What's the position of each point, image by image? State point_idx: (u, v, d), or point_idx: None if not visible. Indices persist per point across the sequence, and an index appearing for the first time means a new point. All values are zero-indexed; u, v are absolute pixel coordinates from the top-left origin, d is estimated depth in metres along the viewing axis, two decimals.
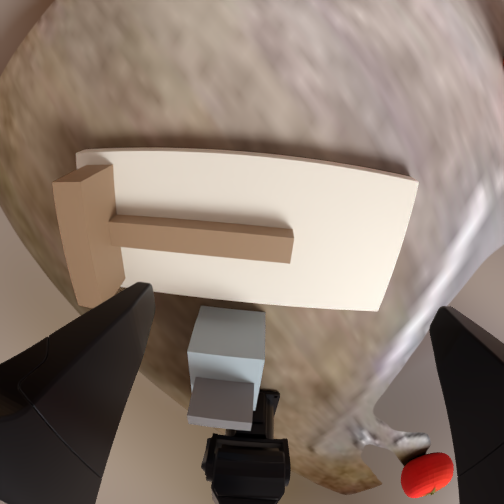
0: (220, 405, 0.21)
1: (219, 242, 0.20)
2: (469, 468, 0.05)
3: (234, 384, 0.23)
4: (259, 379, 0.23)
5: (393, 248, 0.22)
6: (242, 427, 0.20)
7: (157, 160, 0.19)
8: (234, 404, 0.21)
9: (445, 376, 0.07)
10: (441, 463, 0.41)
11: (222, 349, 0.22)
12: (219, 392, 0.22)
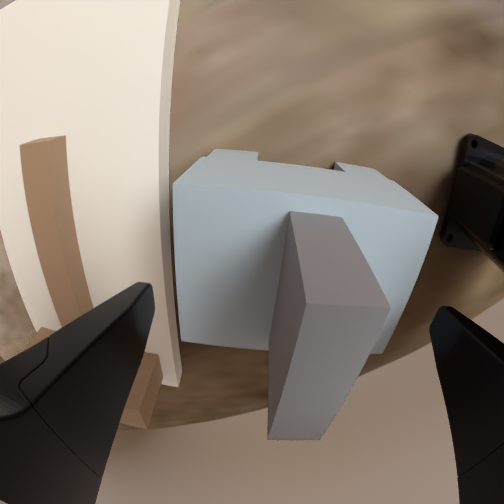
0: (280, 349, 0.07)
1: (45, 241, 0.12)
2: (469, 468, 0.05)
3: (282, 268, 0.09)
4: (269, 195, 0.08)
5: None
6: (352, 335, 0.05)
7: (23, 287, 0.16)
8: (286, 309, 0.07)
9: (445, 376, 0.07)
10: None
11: None
12: (278, 321, 0.08)
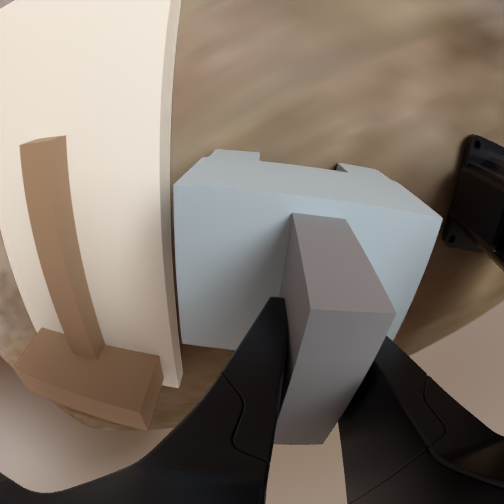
0: None
1: (45, 241, 0.12)
2: (356, 498, 0.05)
3: (284, 271, 0.08)
4: (271, 197, 0.08)
5: None
6: (356, 341, 0.05)
7: (23, 288, 0.16)
8: (289, 313, 0.07)
9: None
10: None
11: None
12: None
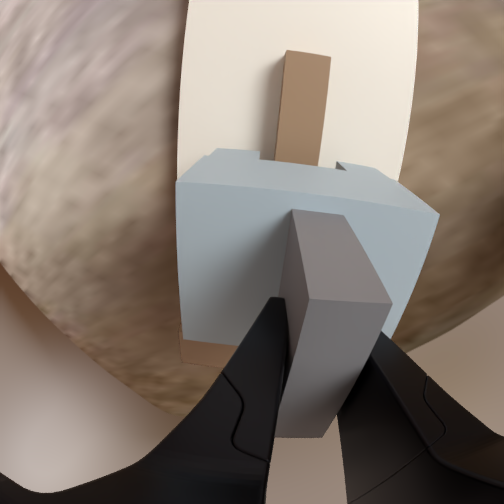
0: None
1: (294, 157, 0.13)
2: (356, 498, 0.05)
3: (284, 266, 0.09)
4: (271, 193, 0.08)
5: None
6: (354, 331, 0.05)
7: None
8: (289, 306, 0.07)
9: None
10: None
11: None
12: None
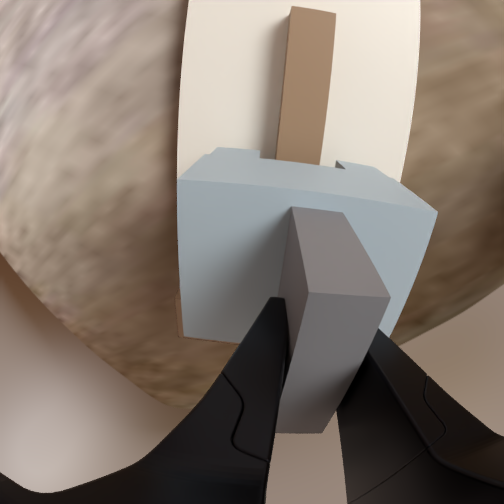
0: None
1: (301, 109, 0.12)
2: (356, 498, 0.05)
3: (284, 262, 0.09)
4: (271, 191, 0.08)
5: None
6: (353, 325, 0.05)
7: None
8: (289, 301, 0.07)
9: None
10: None
11: None
12: None
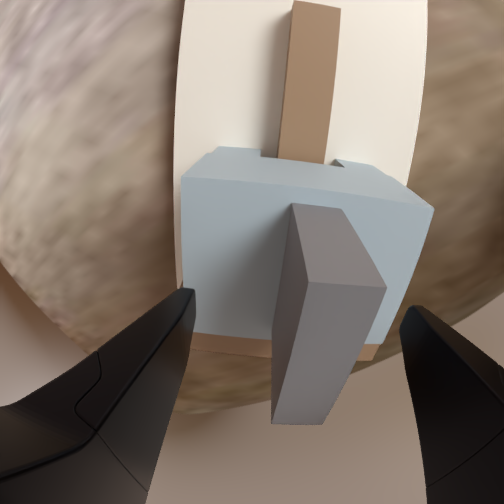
0: (283, 333, 0.07)
1: (304, 109, 0.11)
2: (438, 479, 0.05)
3: (285, 258, 0.09)
4: (272, 188, 0.08)
5: None
6: (351, 314, 0.05)
7: None
8: (289, 294, 0.07)
9: (413, 380, 0.07)
10: None
11: None
12: (281, 308, 0.09)
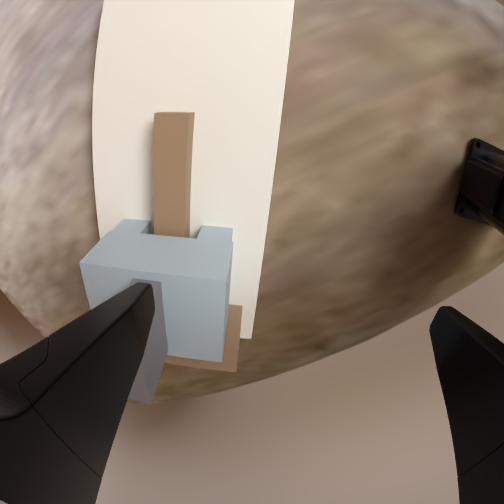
0: None
1: (166, 198, 0.17)
2: (469, 468, 0.05)
3: None
4: (121, 270, 0.14)
5: None
6: None
7: None
8: None
9: (445, 376, 0.07)
10: None
11: None
12: None
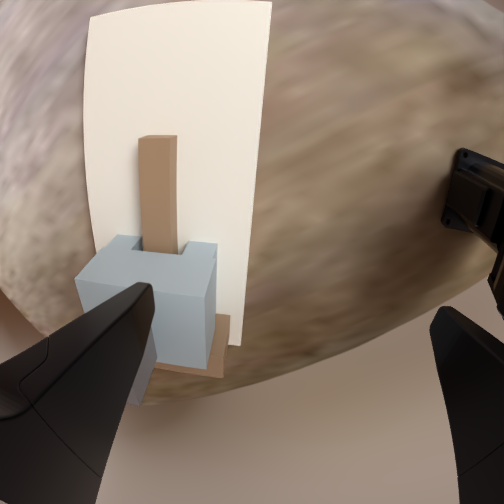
0: None
1: (153, 217, 0.18)
2: (469, 468, 0.05)
3: None
4: (111, 286, 0.15)
5: (165, 11, 0.13)
6: None
7: None
8: None
9: (445, 376, 0.07)
10: None
11: None
12: None
